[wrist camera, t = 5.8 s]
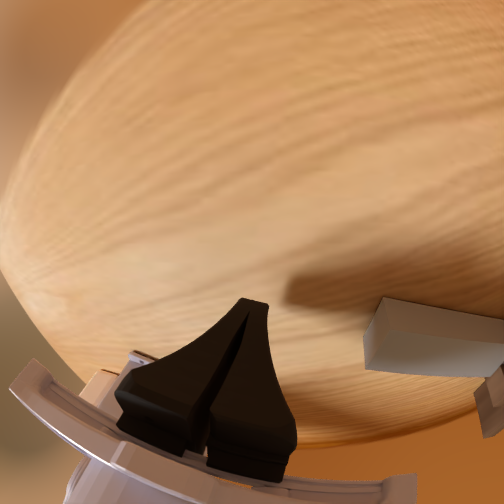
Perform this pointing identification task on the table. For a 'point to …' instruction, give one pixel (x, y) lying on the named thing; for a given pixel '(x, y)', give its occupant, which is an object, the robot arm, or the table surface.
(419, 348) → the rail
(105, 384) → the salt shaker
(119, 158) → the table surface
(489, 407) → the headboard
